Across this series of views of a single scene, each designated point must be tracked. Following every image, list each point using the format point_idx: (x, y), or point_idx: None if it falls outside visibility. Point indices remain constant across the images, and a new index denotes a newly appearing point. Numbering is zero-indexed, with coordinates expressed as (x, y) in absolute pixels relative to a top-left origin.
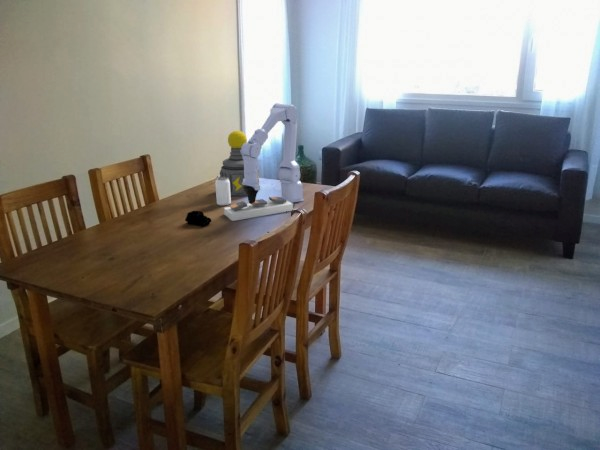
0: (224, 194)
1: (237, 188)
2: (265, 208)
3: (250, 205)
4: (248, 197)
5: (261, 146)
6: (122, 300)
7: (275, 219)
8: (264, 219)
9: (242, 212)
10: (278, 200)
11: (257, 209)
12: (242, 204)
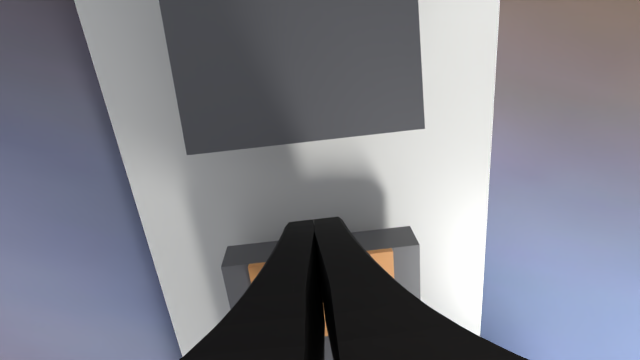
0: None
1: None
2: (179, 346)
3: (392, 216)
4: (326, 267)
5: None
6: None
7: (34, 334)
8: (57, 245)
9: (79, 7)
10: None
11: (166, 255)
12: (237, 70)
